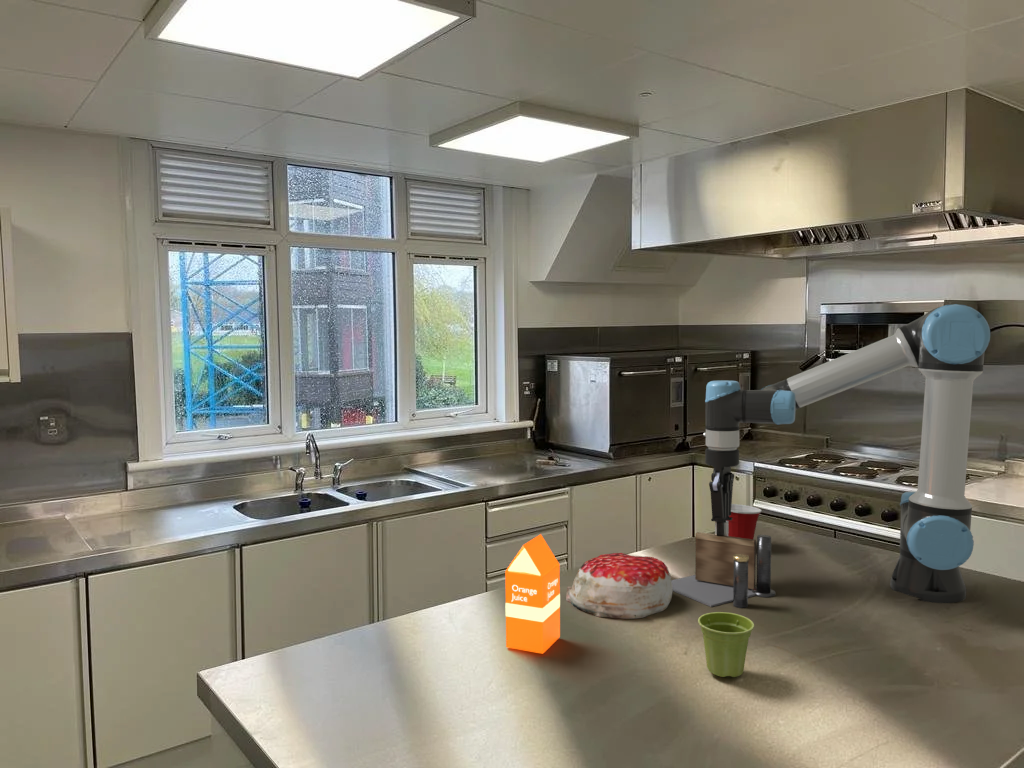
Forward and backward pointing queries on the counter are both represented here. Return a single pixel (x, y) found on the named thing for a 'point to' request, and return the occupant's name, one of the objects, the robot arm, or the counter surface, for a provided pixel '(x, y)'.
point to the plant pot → (725, 642)
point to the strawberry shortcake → (621, 586)
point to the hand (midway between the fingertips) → (721, 548)
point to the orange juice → (533, 598)
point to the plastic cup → (743, 521)
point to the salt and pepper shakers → (762, 573)
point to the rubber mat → (705, 591)
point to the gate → (722, 558)
